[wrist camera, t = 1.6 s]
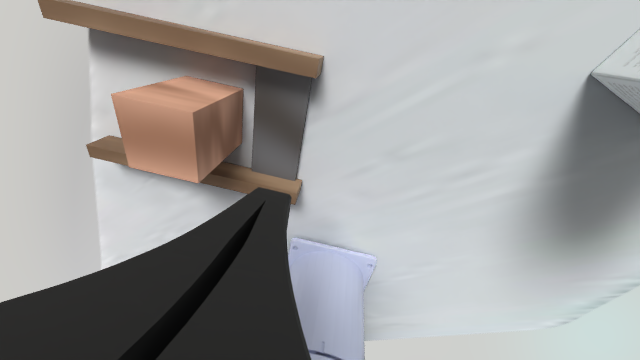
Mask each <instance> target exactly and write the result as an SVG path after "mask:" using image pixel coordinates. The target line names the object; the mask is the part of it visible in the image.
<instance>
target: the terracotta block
mask: <svg viewBox="0 0 640 360" xmlns="http://www.w3.org/2000/svg"><path fill="white" fill-rule="evenodd" d="M111 96H112V100H113V104H114V108H115V112H116V116H117V120H118V124H119V128H120V132H121V136H122V140H123V144H124V149H125V153H126V157H127V161H128V165H129V167H131V168H135V169H139V170H144V171H148V172H152V173H157V174H161V175H165V176H169V177H174V178H178V179H182V180H186V181H191V182H195V183H199V182H200V181H202V180H203V179H204V178H205V177H206V176H207V175H208V174H209V173H210V172H211V171H212V170H213V169H214V168H216V167H217V166H218V165H219V164H220V163H221V162H222V161H223V160H224V159H225V158H226V157H227V156H228V155H229V154H231V153H232V152H233V151H234V150H235V149H236V148H237V147H238V146H239V145H240V144H241V143H242V119H243V89H242V88H237V87H233V86H229V85H224V84H220V83H215V82H211V81H206V80H202V79H197V78H193V77H189V76H184V77H180V78H175V79H171V80H167V81H163V82H159V83H155V84H151V85H146V86H142V87H138V88H134V89H130V90H126V91H122V92H117V93H113V94H111Z"/></svg>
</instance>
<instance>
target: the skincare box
mask: <svg viewBox="0 0 640 360" xmlns="http://www.w3.org/2000/svg"><path fill="white" fill-rule="evenodd" d="M591 75H592V76H593V77H594V78H596V79H597V80H598V81H600V82H601V83H602V84H603V85H605V86H606V87H607V88H608V89H610V90H611V91H612V92H613V93H615V94H616V95H617V96H618V97H620V98H621V99H622V100H623V101H624V102H626V103H627V104H628V105H630V106H631V107H632V108H633V109H635V110H636V111H637V112H638V113H640V29H639V30H638V31H637V32H636V33H635V34H634V35H633V36H632V37H630V38H629V39H628V40H627V41H626V42H625V43H624V44H623V45H622V46H620V47H619V48H618V49H617V50H616V51H615V52H614V53H613V54H611V55H610V56H609V57H608V58H607V59H606V60H605V61H604V62H602V63H601V64H600V65H599V66H598V67H597V68H596V69H595V70H594V71H593V72H592V73H591Z"/></svg>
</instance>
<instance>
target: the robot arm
mask: <svg viewBox="0 0 640 360" xmlns="http://www.w3.org/2000/svg"><path fill="white" fill-rule="evenodd" d="M291 199H292V197H291V196H290V194H287V193H282V192H278V191H274V190H269V189H265V188H261V187H258V188H256V189H255V190H253V191H252V192H250V193H249V194H248V195H246V196H245V197H243V198H242V199H240V200H239V201H238V202H236V203H235V204H233V205H232V206H230V207H229V208H227V209H226V210H224V211H223V212H221V213H219V214H218V215H216V216H215V217H213V218H212V219H210V220H208V221H206V222H205V223H203V224H201V225H200V226H198V227H196V228H194V229H193V230H191V231H189V232H187V233H185V234H183V235H182V236H180V237H178V238H176V239H174V240H172V241H170V242H168V243H165V244H163V245H161V246H159V247H157V248H155V249H152V250H150V251H148V252H145V253H143V254H140V255H138V256H136V257H133V258H131V259H128V260H126V261H124V262H121V263H119V264H116V265H114V266H111V267H108V268H106V269H103V270H100V271H97V272H95V273H92V274H89V275H86V276H83V277H80V278H78V279H75V280H72V281H69V282H66V283H63V284H60V285H57V286H54V287H50V288H48V289H44V290H41V291H37V292H34V293H31V294H27V295H24V296H21V297H17V298H14V299H11V300H7V301H4V302H1V303H0V360H365V357H364V299H363V292H364V290H365V288H366V286H367V283H368V281H369V279H370V277H371V275H372V272H373V270H374V268H375V266H376V264H377V259H376V257H375V256H372V255H368V254H363V253H359V252H355V251H351V250H347V249H342V248H338V247H334V246H330V245H325V244H321V243H317V242H313V241H308V240H304V239H300V238H293V239H292V240H291V243H290V249H289V255H288V251H287V225H288V218H289V212H290V205H291ZM294 246H296V247H294ZM369 264H371V265H369Z"/></svg>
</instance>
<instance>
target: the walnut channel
mask: <svg viewBox="0 0 640 360" xmlns="http://www.w3.org/2000/svg"><path fill="white" fill-rule="evenodd" d="M38 3H39V6H40V9H41V12H42V15H43V17H44V18H47V19H51V20H56V21H60V22H65V23H70V24H74V25H78V26H83V27H87V28H92V29H96V30H101V31H105V32H110V33H114V34H119V35H123V36H128V37H132V38H137V39H141V40H146V41H150V42H155V43H159V44H164V45H168V46H173V47H177V48H182V49H186V50H191V51H195V52H199V53H204V54H208V55H213V56H217V57H222V58H226V59H231V60H235V61H240V62H244V63H249V64H253V65H256V86H255V107H254V129H253V150H252V168H248V167H243V166H239V165H235V164H230V163H226V162H221V163H220V164H219V165H218V166H217V167H216V168H214V169H213V170H212V171H211V172H210V173H209V174H208V175H207V176H206V177H205V178H204V179H203V180H202V181H200V183H204V184H208V185H213V186H217V187H221V188H225V189H230V190H234V191H238V192H242V193H247V194H249V193H250V192H252V191H253V190H255V189H256V188H258V187H261V188H265V189H269V190H274V191H278V192H282V193H287V194H290V196H291V197H292V199H291V204H294V205H295V203H296V201H297V198H298V195H299V193H300V190H301V184H302V180H299V179H296V176H297V170H298V163H299V157H300V151H301V144H302V138H303V132H304V125H305V119H306V113H307V106H308V100H309V94H310V87H311V81H312V78H317V77H318V76H319V75H320V74H321V69H322V63H323V58H324V56H321V55H316V54H312V53H307V52H302V51H298V50H293V49H289V48H284V47H280V46H275V45H271V44H266V43H262V42H257V41H253V40H248V39H244V38H239V37H235V36H230V35H226V34H221V33H216V32H212V31H207V30H203V29H198V28H194V27H189V26H185V25H180V24H176V23H171V22H167V21H162V20H158V19H153V18H149V17H144V16H140V15H135V14H130V13H126V12H121V11H117V10H112V9H108V8H103V7H99V6H94V5H90V4H85V3H81V2H76V1H71V0H38ZM86 146H87V149H88V152H89V155H90V157H93V158H97V159H101V160H106V161H110V162H114V163H118V164H123V165H127V166H129V165H128V161H127V157H126V153H125V149H124V144H123V140H122V138H118V137H114V136H107V137H104V138H102V139H99V140H97V141H94V142H92V143H89V144H87V145H86Z"/></svg>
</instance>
